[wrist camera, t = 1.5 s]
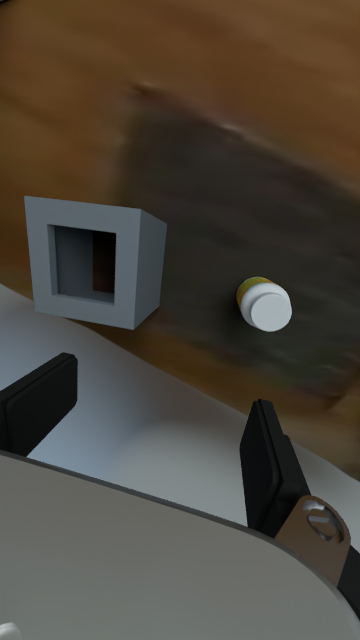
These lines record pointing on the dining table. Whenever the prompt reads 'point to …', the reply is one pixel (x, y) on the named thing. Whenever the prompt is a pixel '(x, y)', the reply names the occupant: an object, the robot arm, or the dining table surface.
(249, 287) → the supplement bottle
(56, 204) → the box
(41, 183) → the dining table surface
